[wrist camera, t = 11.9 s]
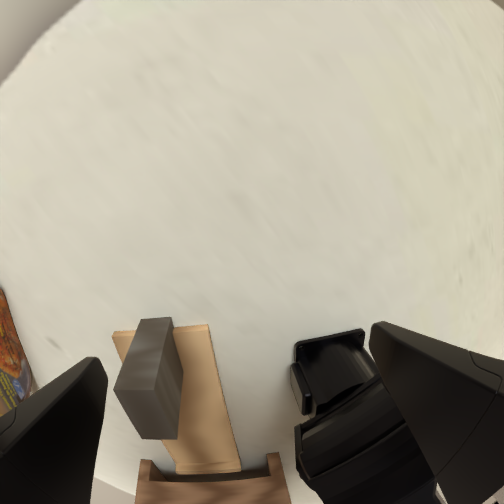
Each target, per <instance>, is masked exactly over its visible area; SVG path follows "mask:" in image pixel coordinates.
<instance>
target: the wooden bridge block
mask: <svg viewBox="0 0 504 504" xmlns="http://www.w3.org/2000/svg"><path fill="white" fill-rule="evenodd" d="M267 461H268V470H269V476H267V477H260V478H253V479H244V480H234V481H220V482H168V481H167V480H166V479H165V477H164V476H163V475H162V474H161V472H160V471H159V470H158V468H157V467H156V466H155V465H154V463H153V462H152V460H142V459H141V461H140V468H139V475H138V482H137V489H136V497H135V504H291V500H290V496H289V492H288V488H287V484H286V480H285V476H284V472H283V468H282V464H281V460H280V456H279V452H277V453H271V454H267Z"/></svg>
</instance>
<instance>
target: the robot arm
mask: <svg viewBox="0 0 504 504" xmlns="http://www.w3.org/2000/svg"><path fill="white" fill-rule="evenodd" d="M360 333H361V334H360ZM359 334H360V335H359ZM364 339H365V332H364V330H363V329H361V328H360V329H355V330H351V331H347V332H342V333H338V334H333V335H328V336H323V337H318V338H313V339H308V340H303V341H299V342H297V343H296V344H295V363H293V364H292V365H291V386H292V389H293V392H294V394H295V397H296V400H297V403H298V406H299V409H300V412H301V414H302V415H304V416H305V415H309V417H310V420H308V421H306V422H304V423H303V424H299V425H297V426H295V427H294V429H295V454H296V469H297V471H298V473H299V476H300V478H301V479H303V480H304V482H305V483H306V484H307V485H308V486H309V487H310V488H311V489H312V490H313V491H315V492H316V493H317V494H318V496H319V497H320V498H321V500H322V501H323V503H324V504H446V503H445V502H444V500H443V499H442V497H441V496H440V495H439V493H438V491H437V490H436V486H437V482H438V484H439V486H440V488H441V491H442V493H443V495H444V497H445V499H446V501H447V503H448V504H482V503H483V502H485V501H486V500H487V499H488V498H489V497H491V496H492V495H493V496H494V497H495V499H496V501H495V502H494V503H493V504H504V360H500V359H496V358H492V357H488V356H485V355H482V354H478V353H475V352H472V351H468V350H466V349H463V348H460V347H457V346H454V345H451V344H448V343H446V342H443V341H440V340H437V339H434V338H431V337H428V336H425V335H422V334H419V333H416V332H414V331H411V330H408V329H405V328H402V327H399V326H397V325H394V324H391V323H388V322H385V321H381V322H377V323H374V324H373V325H372V327H371V333H370V339H369V349H370V352H371V354H372V356H373V359H374V360H373V359H372V358H371V356H370V355H369V354H368V352H367V351H366V350H365V348H364V347H363V346H364ZM300 346H303V347H301V348H299V347H300ZM374 361H375V362H374ZM107 387H108V377H107V374H106V372H105V370H104V368H103V366H102V363H101V361H100V359H99V358H97V357H86V358H84V359H83V360H82V361H80V362H79V363H77V364H76V365H74V366H73V367H71V368H70V369H69V370H67V371H66V372H64V373H63V374H61V375H60V376H58V377H57V378H56V379H54V380H53V381H51V382H50V383H48V384H47V385H46V386H44V387H43V388H41V389H40V390H38V391H37V392H36V393H34V394H33V395H31V396H30V397H28V398H27V399H25V400H24V401H23V402H21V403H20V404H18V405H17V407H14V408H13V409H11V410H10V411H8V412H7V413H5V414H4V415H2V416H1V417H0V504H90V499H91V489H92V482H93V475H94V468H95V462H96V456H97V450H98V445H99V439H100V434H101V429H102V425H103V419H104V412H105V403H106V394H107Z"/></svg>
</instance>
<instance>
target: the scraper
mask: <svg viewBox="0 0 504 504" xmlns="http://www.w3.org/2000/svg"><path fill="white" fill-rule="evenodd" d="M112 339H113V341H114V344H115V347H116V349H117V352H118V354H119V356H120V359H121V361H122V364H123V365H122V367H121V370H120V373H119V375H118V378H117V381H116V383H115V386H114V389H113V390H114V392H115V394H116V396H117V398H118V400H119V401H120V403H121V405H122V407H123V409H124V410H125V412H126V414H127V415H128V417H129V419H130V421H131V422H132V424H133V425H134V427H135V429H136V430H137V432H138V433H139V435H140V437H141V438H142V439H155V440H161V441H162V442H163V444H164V446H165V447H166V449H167V450H168V452H169V454H170V455H171V457H172V458H173V460H174V462H175V463H176V472H177V474H214V473H228V472H239V471H241V464H240V458H239V454H238V450H237V447H236V443H235V440H234V436H233V432H232V428H231V424H230V420H229V417H228V413H227V409H226V404H225V400H224V396H223V392H222V388H221V383H220V379H219V375H218V370H217V366H216V361H215V356H214V352H213V347H212V342H211V337H210V332H209V327H208V324H206V325H196V326H186V327H175V328H174V327H173V323H172V319H171V317H163V318H152V319H141V321H140V323H139V325H138V328H137V330H135V331H116V332H114V333H113V335H112Z"/></svg>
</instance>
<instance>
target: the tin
mask: <svg viewBox="0 0 504 504" xmlns="http://www.w3.org/2000/svg"><path fill="white" fill-rule="evenodd" d="M30 391H31V372H30V367H29V363H28V361H27V358H26V356H25V354H24V351H23V349H22V346H21V344H20V341H19V338H18V336H17V333H16V330H15V327H14V324H13V321H12V318H11V315H10V311H9V308H8V305H7V301H6V298H5V296H4V294H3V292H2V290H1V289H0V417H1V416H2V415H4V414H5V413H7V412H8V411H10V410H11V409H13V408H14V407H17V405H18V404H20V403H21V402H23V401H24V400H25V399H27V398H28V397H29V396H30Z"/></svg>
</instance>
